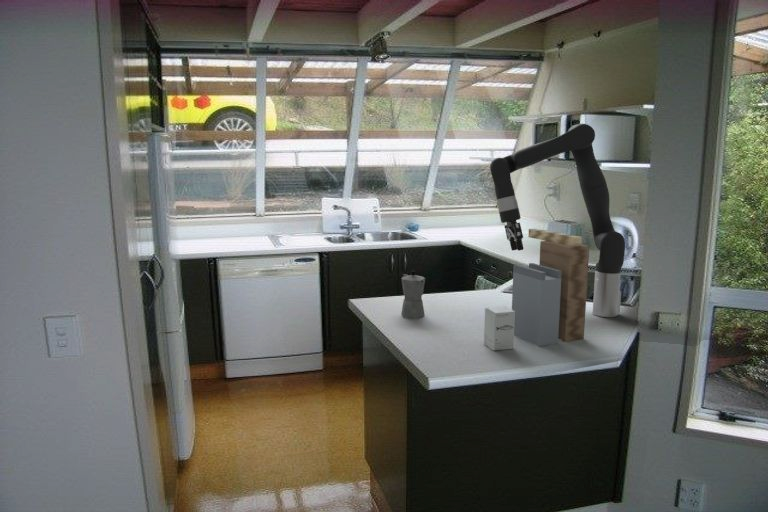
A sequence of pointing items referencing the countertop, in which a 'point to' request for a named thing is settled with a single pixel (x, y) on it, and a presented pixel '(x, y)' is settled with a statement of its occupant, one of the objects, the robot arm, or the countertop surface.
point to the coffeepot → (412, 295)
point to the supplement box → (499, 328)
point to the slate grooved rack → (536, 303)
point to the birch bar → (555, 237)
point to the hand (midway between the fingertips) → (517, 250)
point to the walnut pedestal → (569, 285)
